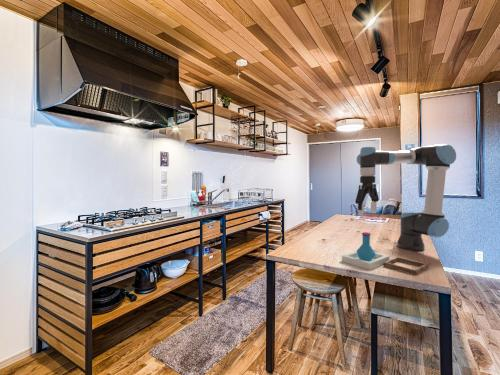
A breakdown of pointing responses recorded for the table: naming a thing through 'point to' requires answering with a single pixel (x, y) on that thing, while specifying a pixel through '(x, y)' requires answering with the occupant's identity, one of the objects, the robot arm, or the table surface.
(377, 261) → the tray
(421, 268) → the frame
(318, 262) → the table surface
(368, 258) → the teal vase
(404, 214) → the robot arm
